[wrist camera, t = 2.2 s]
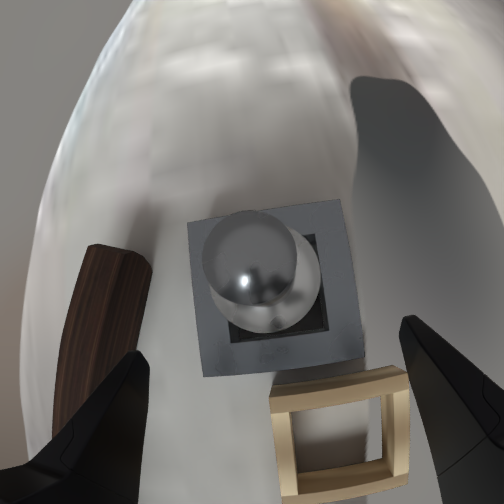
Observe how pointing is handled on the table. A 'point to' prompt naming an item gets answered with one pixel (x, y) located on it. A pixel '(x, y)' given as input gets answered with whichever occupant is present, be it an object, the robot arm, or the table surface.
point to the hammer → (99, 324)
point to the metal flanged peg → (260, 271)
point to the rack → (353, 476)
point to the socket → (290, 344)
